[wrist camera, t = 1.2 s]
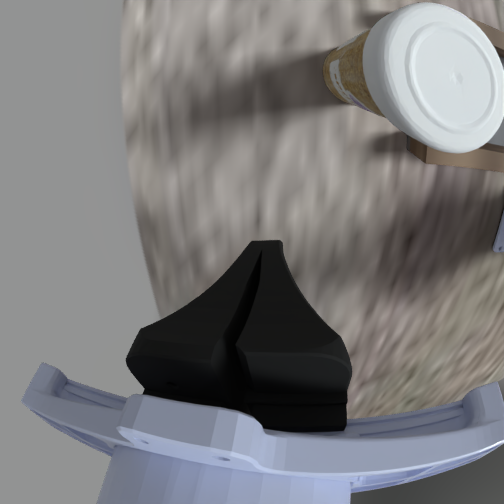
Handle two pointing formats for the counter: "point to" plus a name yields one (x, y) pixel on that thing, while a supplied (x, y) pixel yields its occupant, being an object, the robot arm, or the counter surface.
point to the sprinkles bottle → (424, 76)
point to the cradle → (485, 157)
